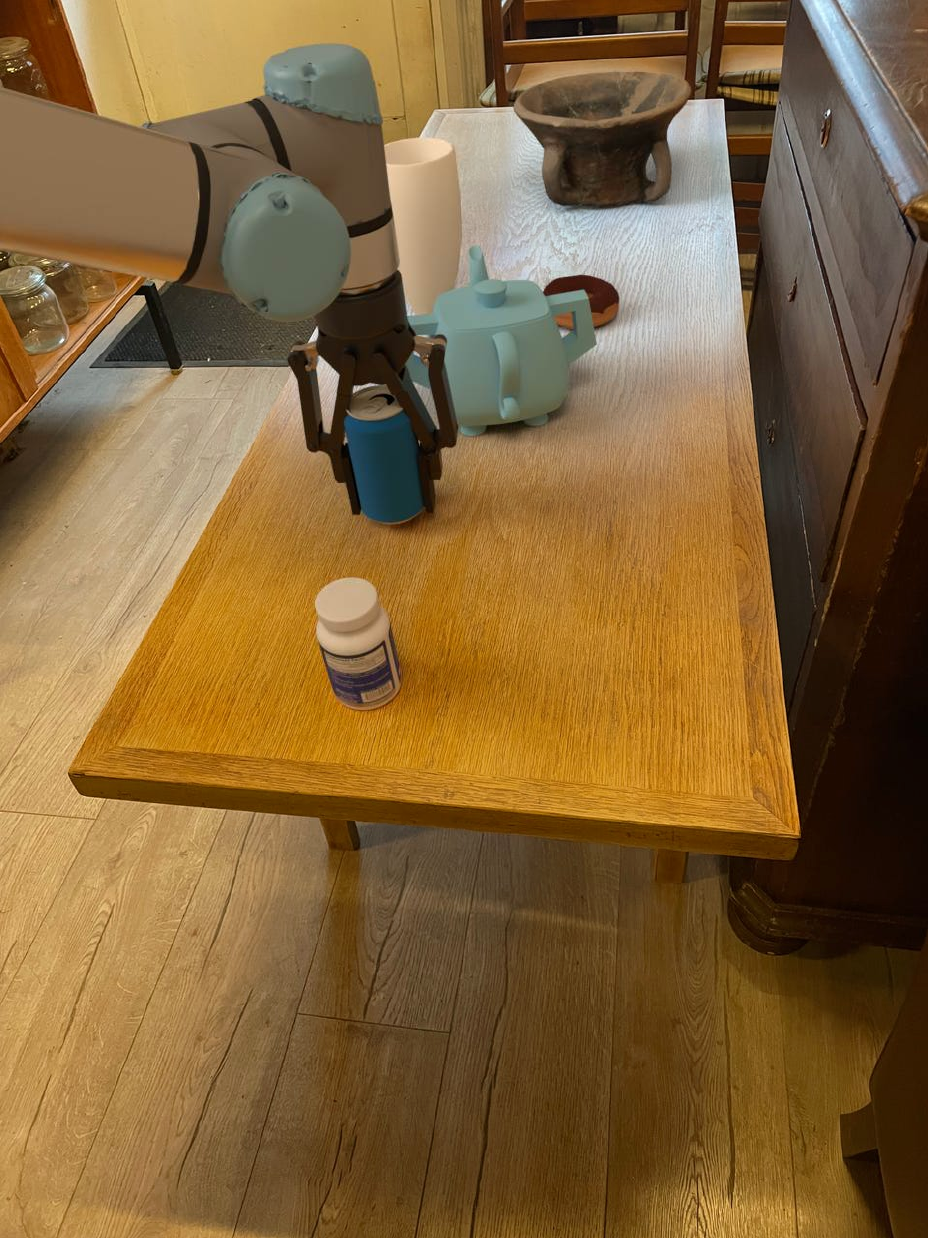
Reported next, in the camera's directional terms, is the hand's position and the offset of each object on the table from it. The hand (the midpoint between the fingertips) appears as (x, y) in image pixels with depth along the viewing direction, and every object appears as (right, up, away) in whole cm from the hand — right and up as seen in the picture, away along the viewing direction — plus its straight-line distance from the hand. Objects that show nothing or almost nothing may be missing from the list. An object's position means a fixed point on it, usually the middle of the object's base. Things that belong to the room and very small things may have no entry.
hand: (394, 505), depth 87 cm
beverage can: (0, 0, 0) cm, 1 cm away
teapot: (+11, +14, +15) cm, 23 cm away
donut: (+22, +28, +28) cm, 45 cm away
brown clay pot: (+29, +58, +57) cm, 86 cm away
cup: (+3, +26, +29) cm, 39 cm away
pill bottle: (-1, -17, -15) cm, 22 cm away
